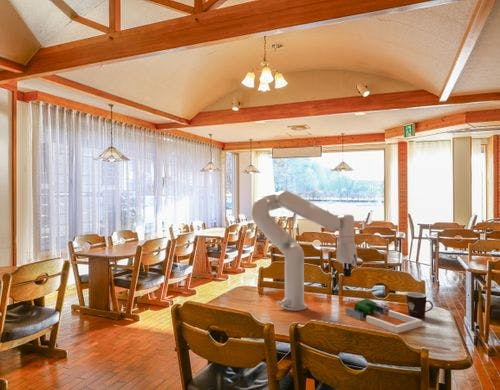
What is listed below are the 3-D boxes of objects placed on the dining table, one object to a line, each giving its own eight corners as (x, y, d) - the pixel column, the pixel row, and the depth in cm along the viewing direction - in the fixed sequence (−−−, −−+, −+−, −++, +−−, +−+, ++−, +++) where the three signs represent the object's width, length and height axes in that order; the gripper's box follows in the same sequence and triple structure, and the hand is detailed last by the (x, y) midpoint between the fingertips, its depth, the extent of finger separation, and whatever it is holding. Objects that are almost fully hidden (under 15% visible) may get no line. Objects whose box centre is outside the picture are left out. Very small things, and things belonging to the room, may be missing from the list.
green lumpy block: (364, 326, 167) (365, 311, 163) (353, 320, 171) (353, 305, 167) (377, 311, 174) (378, 296, 170) (366, 305, 178) (366, 291, 174)
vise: (360, 320, 162) (360, 313, 163) (345, 314, 170) (345, 308, 170) (393, 311, 174) (393, 305, 174) (378, 306, 182) (378, 300, 182)
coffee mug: (402, 314, 170) (402, 292, 170) (420, 313, 171) (420, 292, 171) (416, 322, 159) (415, 299, 159) (434, 321, 159) (434, 298, 159)
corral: (397, 333, 146) (397, 327, 146) (366, 321, 160) (366, 316, 160) (422, 326, 154) (422, 320, 154) (390, 315, 168) (390, 310, 168)
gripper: (330, 238, 186) (331, 274, 186) (352, 241, 173) (353, 280, 173) (341, 237, 190) (342, 272, 189) (363, 240, 177) (364, 278, 177)
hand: (347, 276), depth 181 cm, fingers closed
